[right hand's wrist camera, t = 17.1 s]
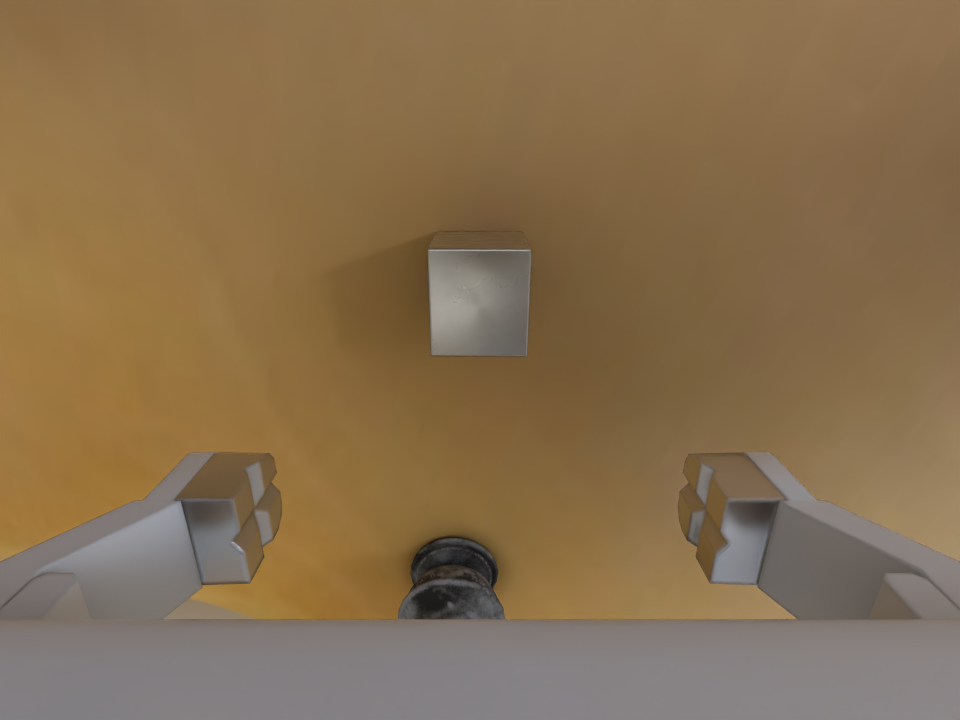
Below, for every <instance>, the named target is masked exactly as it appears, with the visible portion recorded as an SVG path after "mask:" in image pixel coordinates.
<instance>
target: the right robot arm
mask: <svg viewBox="0 0 960 720" xmlns="http://www.w3.org/2000/svg"><path fill="white" fill-rule="evenodd" d="M276 473H277V470H276V466H275V461H274V457H273V456H272V455H271V454H270V453H238V452H219V453H218V452H193V453H188V454H187V455H186V456H185V457H184V458H183V459H182V460H181V461H180V463H179V464H178V465H177V466H176V467H175V468H174V469H173V470H172V471H171V472H170V473H169V474H168V475H167V476H166V477H165V478H164V479H163V480H162V481H161V482H160V483H159V484H158V485H157V486H156V487H155V488H154V489H153V490H152V492H151V493H150V494H149V495H148V496H147V497H146V498H145V499H144V500H143V501H132V502H130V503H128V504H126V505H124V506H121V507H119V508H117V509H115V510H113V511H110V512H108V513H106V514H104V515H102V516H99V517H97V518H95V519H93V520H91V521H88V522H86V523H84V524H82V525H80V526H77V527H75V528H73V529H71V530H69V531H66V532H64V533H62V534H60V535H58V536H55V537H53V538H51V539H49V540H47V541H44V542H42V543H40V544H38V545H36V546H34V547H31V548H29V549H27V550H25V551H23V552H20V553H18V554H16V555H14V556H12V557H9V558H7V559H5V560H3V561H1V562H0V720H960V562H959V561H957V560H955V559H953V558H950V557H948V556H946V555H944V554H942V553H939V552H937V551H935V550H933V549H931V548H928V547H926V546H924V545H922V544H920V543H917V542H915V541H913V540H911V539H909V538H906V537H904V536H902V535H900V534H898V533H896V532H893V531H891V530H889V529H887V528H885V527H882V526H880V525H878V524H876V523H874V522H871V521H869V520H867V519H865V518H863V517H860V516H858V515H856V514H854V513H852V512H850V511H847V510H845V509H843V508H841V507H839V506H836V505H834V504H832V503H830V502H828V501H817V500H816V499H815V498H814V497H813V496H812V495H811V494H810V493H809V491H808V490H807V489H806V488H805V487H804V486H803V485H802V484H801V483H800V482H799V481H798V480H797V479H796V478H795V477H794V476H793V475H792V474H791V473H790V472H789V471H788V470H787V469H786V468H785V467H784V466H783V464H782V463H781V462H780V461H779V460H778V459H777V458H776V457H775V456H774V455H773V454H771V453H768V452H742V453H705V454H688V456H687V458H686V461H685V465H684V470H683V473H684V475H685V476H686V478H687V480H688V481H689V483H688V484H687V485H686V486H685V487H684V488H683V489H682V490H681V491H680V494H679V502H678V513H679V522H680V525H681V528H682V531H683V533H684V535H685V537H686V539H687V540H688V541H689V542H691V543H692V544H694V545H695V546H697V553H696V558H697V560H698V562H699V564H700V566H701V568H702V569H703V571H704V573H705V575H706V577H707V579H708V581H709V582H710V584H742V585H758V588H759V589H761V590H762V591H763V592H764V593H766V594H767V595H768V596H769V597H771V598H772V599H773V600H774V601H776V602H777V603H778V604H779V605H781V606H782V607H783V608H784V609H786V610H787V611H788V612H789V613H791V614H792V615H793V616H794V617H796V618H797V619H163V618H164V617H166V616H167V615H168V614H169V613H171V612H172V611H173V610H175V609H176V608H177V607H178V606H179V605H181V604H182V603H183V602H185V601H186V600H187V599H188V598H190V597H191V596H192V595H193V594H195V593H196V592H197V591H198V590H200V589H201V588H202V585H217V584H250V583H251V581H252V579H253V577H254V575H255V573H256V571H257V569H258V568H259V566H260V564H261V562H262V560H263V558H264V553H263V546H265V545H266V544H268V543H269V542H271V541H272V540H273V539H274V537H275V535H276V533H277V531H278V529H279V525H280V520H281V516H282V500H281V494H280V491H279V490H278V489H277V488H276V487H275V486H274V485H273V484H272V483H271V481H272V480H273V478H274V476H275V475H276Z"/></svg>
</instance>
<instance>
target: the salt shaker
mask: <svg viewBox="0 0 960 720" xmlns="http://www.w3.org/2000/svg"><path fill="white" fill-rule="evenodd" d="M497 574H498V570H497V565H496V562H495V560H494V558H493V556H492V555H491V553H490V552H488V551H487V550H486V549H485V548H484V547H483V546H481V545H479V544H478V543H476V542H474V541H470V540H467V539H463V538H445V539H440V540H437V541H434V542H431V543H429V544H428V545H426V546H425V547H423V548H422V549H421V550H420V551H419V552H418V554H417V555H416V556H415V558H414V560H413V563H412V566H411V577H412V581H413V584H414V586H413V587H412V588H411V590H410V592H409V594H408V595H407V596H406V597H405V598H404V599H403V601H402V604H401V606H400V608H399V613H398V619H505V615H504V610H503V607H502V605H501V603H500V601H499V600H498V598H497V596H496V594H495V592H494V591H493V587H494V585H495V583H496V581H497Z"/></svg>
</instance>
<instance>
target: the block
mask: <svg viewBox="0 0 960 720" xmlns="http://www.w3.org/2000/svg"><path fill="white" fill-rule="evenodd" d="M427 259H428V290H429V320H430V351H431V356H522V357H525V356H527V355H528V332H529V308H530V283H531V259H532V250H531V248H530V246H529V244H528V242H527V240H526V238H525V236H524V234H523V232H436V234H435V236H434V237H433V239H432V241H431V243H430V245H429V247H428V250H427Z"/></svg>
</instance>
